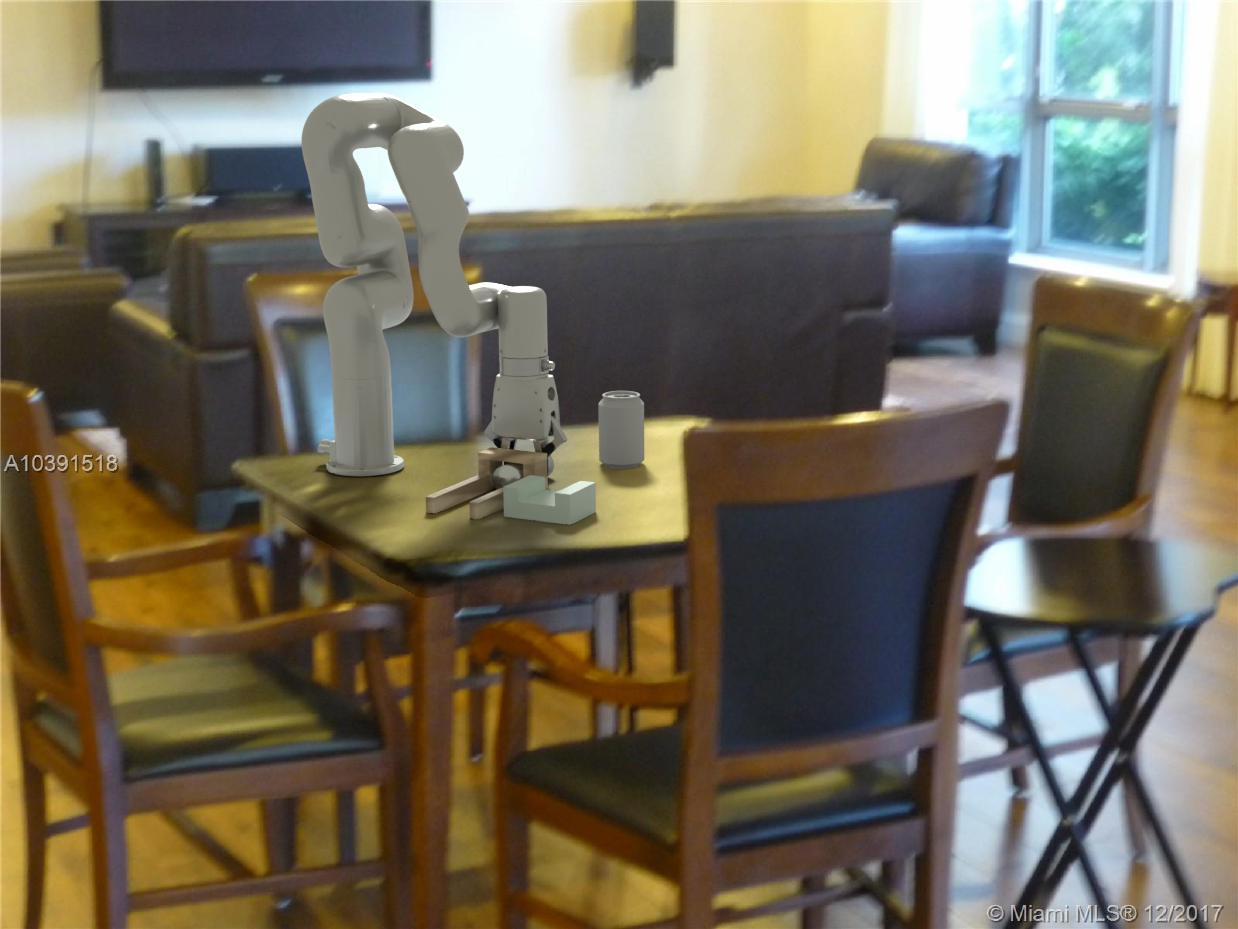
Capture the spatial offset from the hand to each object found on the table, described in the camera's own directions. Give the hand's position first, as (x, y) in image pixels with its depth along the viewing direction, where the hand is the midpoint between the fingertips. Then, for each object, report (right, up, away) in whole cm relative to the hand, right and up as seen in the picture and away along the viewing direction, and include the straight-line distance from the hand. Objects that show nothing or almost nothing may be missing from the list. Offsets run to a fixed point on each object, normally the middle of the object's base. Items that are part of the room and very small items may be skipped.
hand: (526, 479), depth 269 cm
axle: (-1, -1, 0) cm, 1 cm away
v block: (+4, -5, -18) cm, 19 cm away
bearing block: (-5, -3, -10) cm, 12 cm away
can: (+15, +2, +12) cm, 20 cm away
